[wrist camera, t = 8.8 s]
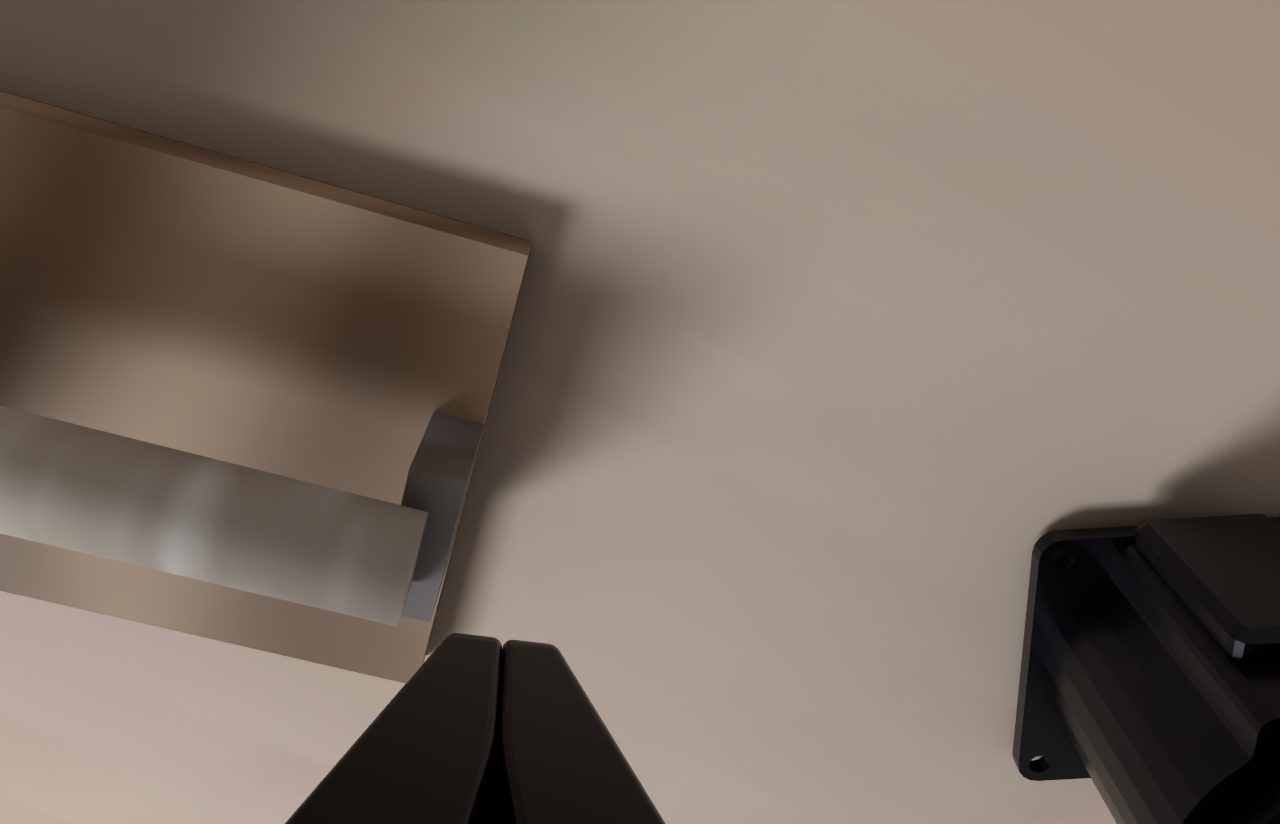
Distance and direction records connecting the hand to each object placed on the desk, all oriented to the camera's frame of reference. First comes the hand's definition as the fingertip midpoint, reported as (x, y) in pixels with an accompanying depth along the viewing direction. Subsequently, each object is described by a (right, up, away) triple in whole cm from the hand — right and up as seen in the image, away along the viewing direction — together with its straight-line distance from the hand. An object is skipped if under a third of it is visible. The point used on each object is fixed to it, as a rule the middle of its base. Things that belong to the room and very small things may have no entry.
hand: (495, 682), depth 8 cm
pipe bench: (-10, +3, +13) cm, 17 cm away
